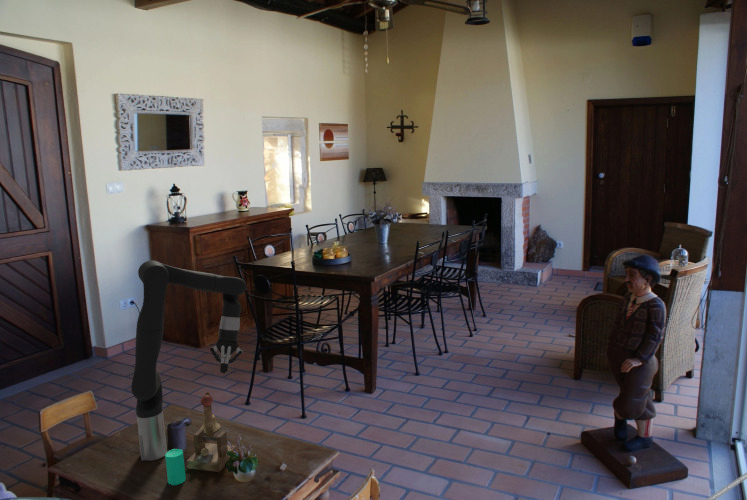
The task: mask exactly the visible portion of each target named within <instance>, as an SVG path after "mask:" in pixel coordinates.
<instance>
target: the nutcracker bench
mask: <svg viewBox="0 0 747 500" xmlns="http://www.w3.org/2000/svg"><path fill="white" fill-rule="evenodd" d="M202 436H205V433H204V430H203V429H198V430H197V431H196V432H195V433H194V434H193V442H194V443H193V444H194V453H193V454H191V456H190V457H189V458H188V459H187V460H186V467H187V469H188V470H198V471H206V472H207V471H208V472H217V473H220V472H221V471H222V470H223V469H224V468H225V467H226V466H225V463H226V461H227V460H229V457H228V455H227V451H236V452H237V445H234V444H233V445H232V444H231V445H232V447H233V449H231V447H230V446H229V445H230V444H228V440H227V439H228V438H227V431H224V430H223V431H220V433H219V434H217V436H215V437H216V439H217V441H216V443H210V442H206V440H202Z"/></svg>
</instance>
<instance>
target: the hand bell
mask: <svg viewBox="0 0 747 500" xmlns="http://www.w3.org/2000/svg"><path fill="white" fill-rule="evenodd" d="M205 395H210V396H211V394H210V392H209V391H206V392H205ZM212 419H213V429H214V433H216V432H218V431H220V429H221V427H222V425H221V424H220V423H218V421H217V420H216V416H215V415H214V414H212ZM200 429H203V430H204V434H206V429H205V419H204V418H203V422H202V425H201V427H200Z"/></svg>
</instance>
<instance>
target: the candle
mask: <svg viewBox="0 0 747 500" xmlns="http://www.w3.org/2000/svg"><path fill="white" fill-rule="evenodd" d="M184 457H185V456H184V450H183V449H180V448H173V449H169V450H167V453H166V454H165V456H164V458H165V460H164V461H165V467H166V468H165V469H166V475H167V483H168V485H170V484H171V486H178V485H180V484H183V483H185V481H186V480H187V476H186V465H185V458H184Z"/></svg>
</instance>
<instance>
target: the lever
mask: <svg viewBox="0 0 747 500" xmlns="http://www.w3.org/2000/svg"><path fill="white" fill-rule="evenodd" d="M213 402H214V400H213V397H212V396H211V394H210V395H206V394H205V395H203V396H202V397H201V399H200V403H201V406H202V407H203V416H204V417H203V420H204V419H205V429H206V433H205V435H204V436H202V440H205V441H214V442H217V439H216V437H217V436H215V432H214V429H213V419H212V415H213V412H212V410H213V409H212V404H213Z"/></svg>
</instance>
